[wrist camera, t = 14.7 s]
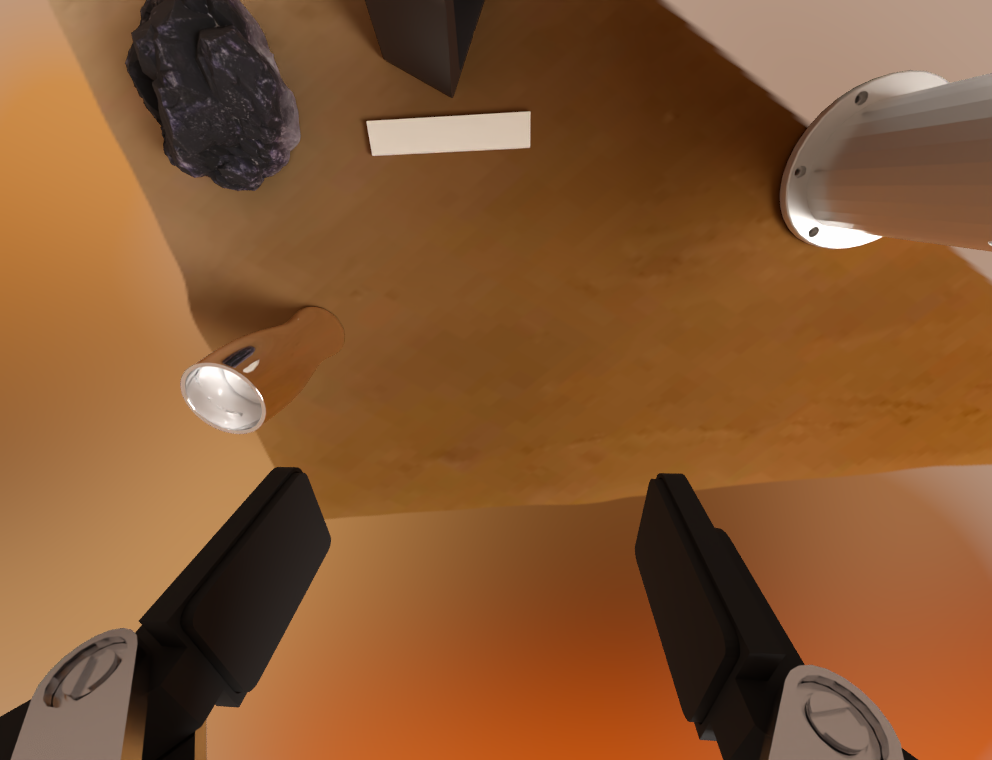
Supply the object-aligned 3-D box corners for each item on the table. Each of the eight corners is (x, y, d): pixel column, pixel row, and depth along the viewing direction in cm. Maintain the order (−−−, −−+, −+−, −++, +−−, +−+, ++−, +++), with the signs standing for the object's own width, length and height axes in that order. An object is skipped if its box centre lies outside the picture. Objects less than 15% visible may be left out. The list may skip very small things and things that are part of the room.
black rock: (169, 159, 34) (65, 167, 26) (131, -43, 27) (-32, -121, 19) (313, 204, 36) (258, 224, 28) (315, 27, 29) (240, -15, 21)
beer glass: (361, 334, 41) (284, 404, 28) (327, 370, 43) (242, 450, 30) (310, 289, 39) (200, 342, 25) (277, 329, 41) (162, 396, 28)
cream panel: (530, 112, 30) (530, 111, 29) (530, 147, 31) (530, 147, 31) (369, 122, 31) (366, 121, 31) (374, 156, 32) (372, 155, 32)
